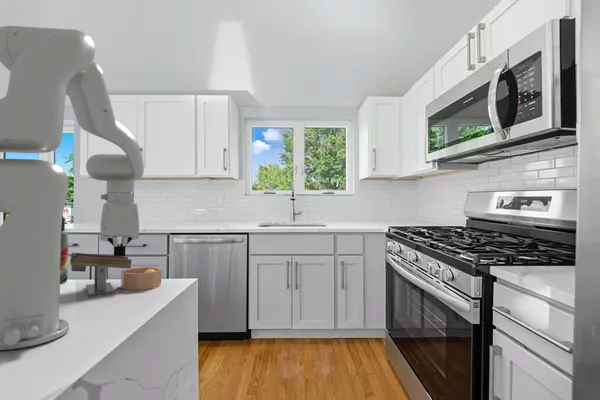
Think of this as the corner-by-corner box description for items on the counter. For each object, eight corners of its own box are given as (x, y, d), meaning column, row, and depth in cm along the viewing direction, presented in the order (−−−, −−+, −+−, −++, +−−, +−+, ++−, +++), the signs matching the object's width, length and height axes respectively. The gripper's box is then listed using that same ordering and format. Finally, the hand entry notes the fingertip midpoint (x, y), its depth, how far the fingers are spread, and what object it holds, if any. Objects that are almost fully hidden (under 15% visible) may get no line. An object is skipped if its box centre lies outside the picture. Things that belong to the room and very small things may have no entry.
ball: (141, 278, 100) (151, 287, 101) (152, 267, 102) (161, 276, 103) (138, 275, 103) (148, 284, 105) (149, 265, 105) (158, 274, 106)
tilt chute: (129, 274, 97) (131, 259, 97) (69, 271, 89) (72, 255, 89) (121, 266, 109) (123, 253, 109) (68, 263, 101) (71, 249, 102)
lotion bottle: (67, 283, 103) (68, 216, 104) (43, 286, 100) (45, 216, 100) (67, 280, 108) (68, 215, 108) (44, 282, 105) (45, 215, 105)
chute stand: (115, 293, 92) (115, 265, 93) (88, 297, 89) (89, 267, 89) (109, 285, 102) (110, 259, 102) (85, 287, 99) (86, 261, 99)
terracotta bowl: (164, 287, 100) (164, 271, 100) (124, 292, 94) (124, 275, 95) (156, 280, 109) (156, 266, 109) (118, 284, 103) (119, 269, 103)
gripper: (92, 198, 99) (91, 263, 99) (149, 199, 108) (148, 258, 107) (90, 198, 105) (90, 259, 105) (144, 199, 114) (143, 255, 114)
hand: (119, 258), depth 106 cm, fingers closed
